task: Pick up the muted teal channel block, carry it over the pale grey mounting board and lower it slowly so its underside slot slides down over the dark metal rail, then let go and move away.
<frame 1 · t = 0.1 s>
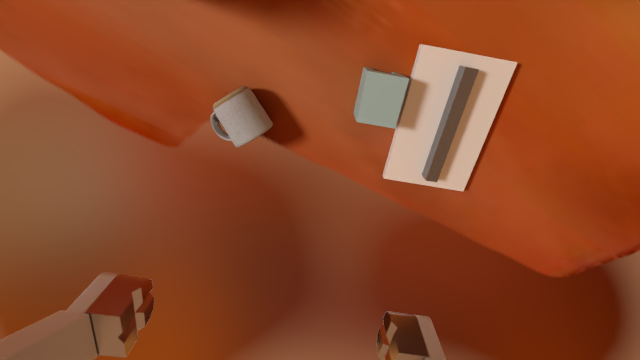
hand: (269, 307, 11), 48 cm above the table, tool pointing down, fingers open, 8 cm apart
metal rail: (442, 123, 56), resting on mounting board
mounting board: (442, 123, 56), on the table
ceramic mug: (242, 116, 57), on the table
channel block: (376, 93, 54), on the table
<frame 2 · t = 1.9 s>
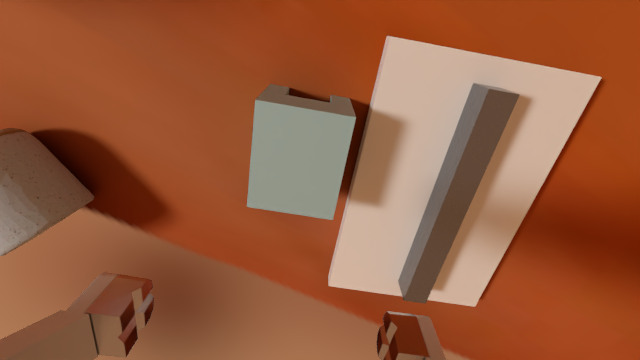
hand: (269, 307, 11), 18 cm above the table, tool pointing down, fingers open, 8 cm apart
metal rail: (436, 191, 29), resting on mounting board
mounting board: (436, 191, 29), on the table
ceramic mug: (45, 178, 29), on the table
channel block: (303, 137, 27), on the table
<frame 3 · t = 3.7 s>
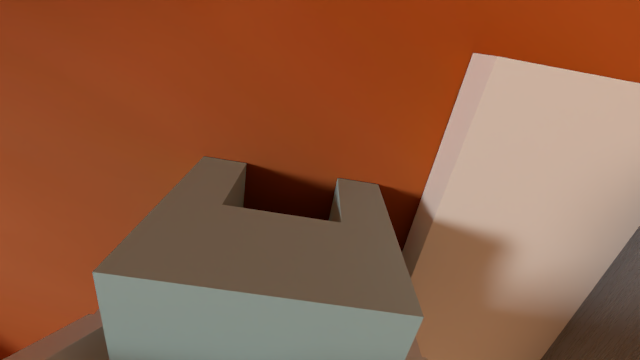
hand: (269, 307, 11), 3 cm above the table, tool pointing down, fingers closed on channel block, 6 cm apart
metal rail: (536, 341, 15), resting on mounting board
mounting board: (536, 341, 15), on the table
channel block: (280, 255, 13), on the table, touching gripper
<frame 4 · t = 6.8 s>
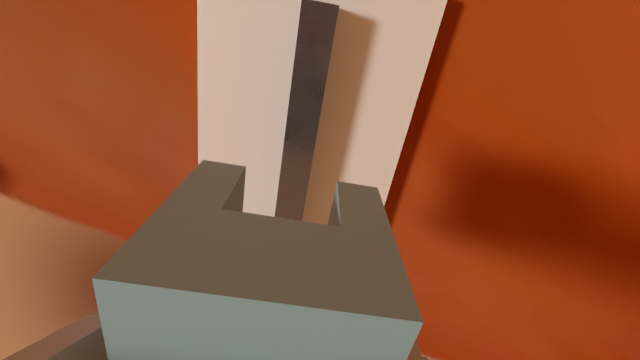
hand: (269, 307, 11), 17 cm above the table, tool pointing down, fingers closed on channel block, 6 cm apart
metal rail: (301, 140, 26), resting on mounting board
mounting board: (301, 140, 26), on the table
channel block: (279, 258, 13), point 14 cm above the table, touching gripper
when the fingers open (5 cm above the table, at t = 9.8 s): channel block stays where it is, resting on mounting board.
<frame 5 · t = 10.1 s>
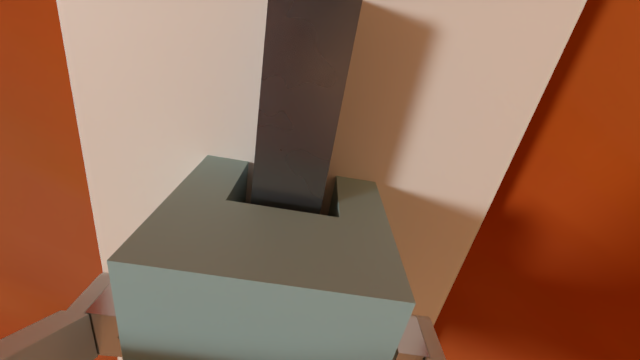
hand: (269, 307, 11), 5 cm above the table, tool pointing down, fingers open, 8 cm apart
metal rail: (285, 231, 15), resting on mounting board
mounting board: (285, 231, 15), on the table
channel block: (281, 251, 14), point 1 cm above the table, touching mounting board
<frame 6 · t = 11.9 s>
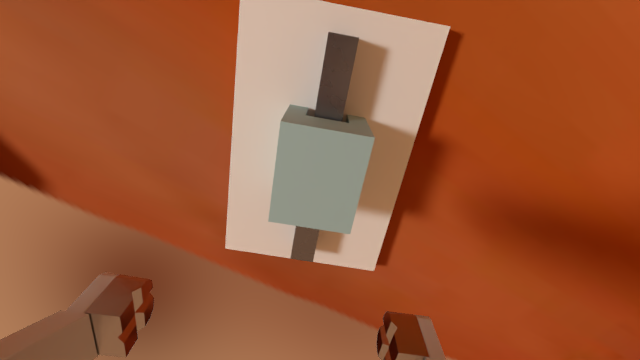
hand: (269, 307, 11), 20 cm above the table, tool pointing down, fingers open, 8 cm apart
metal rail: (320, 149, 29), resting on mounting board
mounting board: (320, 149, 29), on the table
channel block: (319, 154, 28), point 1 cm above the table, touching mounting board
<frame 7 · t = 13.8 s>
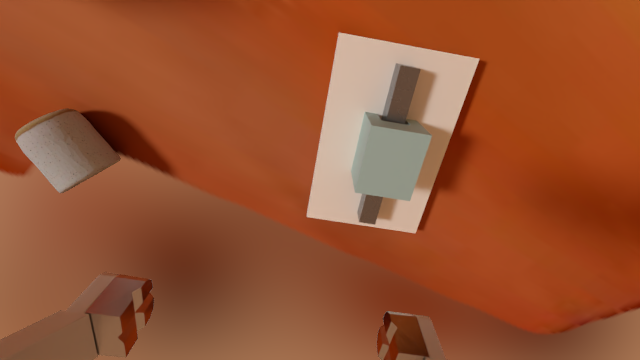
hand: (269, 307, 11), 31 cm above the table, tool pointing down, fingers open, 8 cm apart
metal rail: (380, 143, 41), resting on mounting board
mounting board: (380, 143, 41), on the table
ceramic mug: (85, 146, 42), on the table
channel block: (382, 146, 39), point 1 cm above the table, touching mounting board
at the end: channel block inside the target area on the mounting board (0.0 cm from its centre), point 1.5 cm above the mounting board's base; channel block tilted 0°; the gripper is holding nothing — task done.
